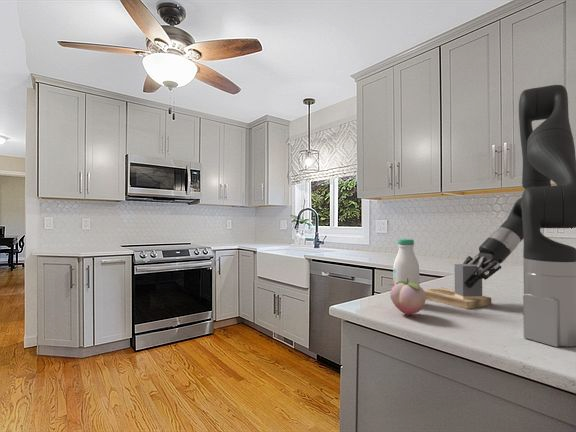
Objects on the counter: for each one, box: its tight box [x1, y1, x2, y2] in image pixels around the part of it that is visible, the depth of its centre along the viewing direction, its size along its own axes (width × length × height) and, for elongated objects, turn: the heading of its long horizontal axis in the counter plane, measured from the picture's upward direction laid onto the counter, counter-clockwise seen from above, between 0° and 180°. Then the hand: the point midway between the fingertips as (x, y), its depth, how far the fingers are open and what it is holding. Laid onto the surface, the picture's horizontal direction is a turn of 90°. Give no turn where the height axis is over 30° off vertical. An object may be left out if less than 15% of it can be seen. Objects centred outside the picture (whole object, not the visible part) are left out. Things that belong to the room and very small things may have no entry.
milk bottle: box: [392, 238, 421, 288], centre depth 100 cm, size 8×8×20 cm
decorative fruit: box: [389, 278, 427, 316], centre depth 88 cm, size 9×8×10 cm
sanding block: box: [454, 263, 483, 299], centre depth 100 cm, size 6×4×10 cm
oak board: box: [423, 287, 492, 310], centre depth 104 cm, size 12×17×2 cm
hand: (462, 284), depth 100 cm, fingers closed on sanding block, 4 cm apart
